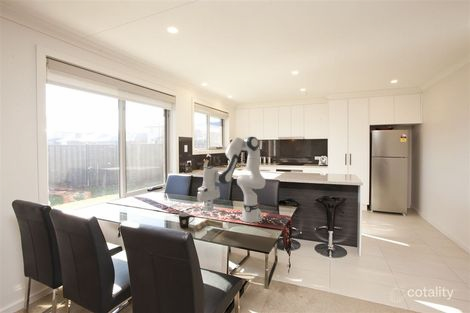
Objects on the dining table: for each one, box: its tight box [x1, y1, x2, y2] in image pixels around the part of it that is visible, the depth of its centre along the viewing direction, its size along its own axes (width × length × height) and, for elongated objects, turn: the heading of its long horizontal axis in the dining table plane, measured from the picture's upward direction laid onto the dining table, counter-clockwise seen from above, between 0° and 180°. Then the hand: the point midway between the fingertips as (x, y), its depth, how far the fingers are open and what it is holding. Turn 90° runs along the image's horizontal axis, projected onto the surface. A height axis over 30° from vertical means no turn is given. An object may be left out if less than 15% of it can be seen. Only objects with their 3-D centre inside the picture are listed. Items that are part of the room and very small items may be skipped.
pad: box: [201, 226, 214, 232], centre depth 183 cm, size 6×7×1 cm
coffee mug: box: [178, 212, 195, 229], centre depth 186 cm, size 12×9×10 cm
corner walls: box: [193, 218, 224, 232], centre depth 182 cm, size 17×16×4 cm
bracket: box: [201, 201, 214, 212], centre depth 180 cm, size 7×5×6 cm
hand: (209, 205), depth 181 cm, fingers closed on bracket
